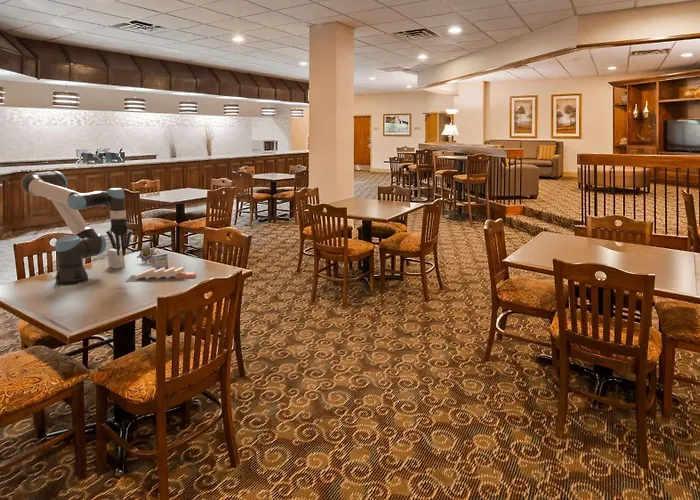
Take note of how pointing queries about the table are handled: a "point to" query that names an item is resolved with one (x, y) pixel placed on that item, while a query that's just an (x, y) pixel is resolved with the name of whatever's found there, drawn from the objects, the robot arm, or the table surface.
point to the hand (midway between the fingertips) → (122, 261)
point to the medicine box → (159, 261)
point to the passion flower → (147, 253)
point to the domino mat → (151, 279)
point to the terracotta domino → (186, 275)
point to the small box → (114, 259)
